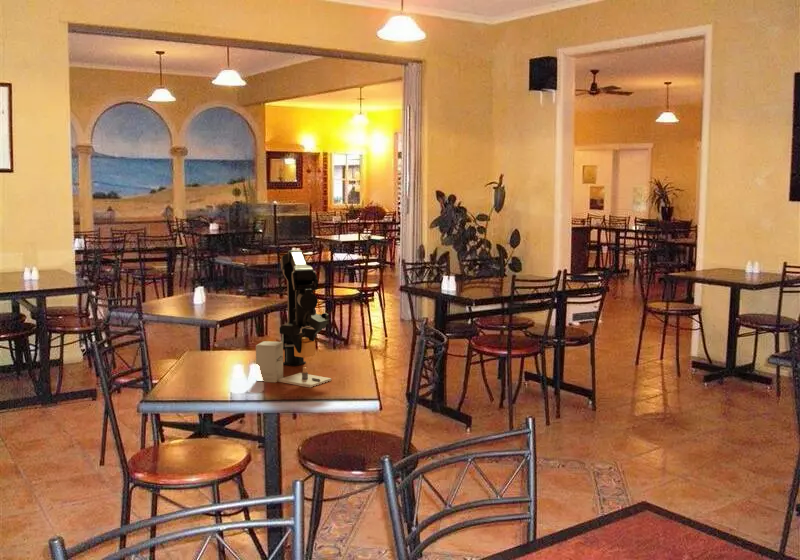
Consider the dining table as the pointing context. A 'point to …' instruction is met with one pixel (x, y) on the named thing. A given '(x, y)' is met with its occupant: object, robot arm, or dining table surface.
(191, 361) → the dining table surface
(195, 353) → the dining table surface
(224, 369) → the dining table surface
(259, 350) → the supplement box
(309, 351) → the orange domed cube
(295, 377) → the cream base plate
